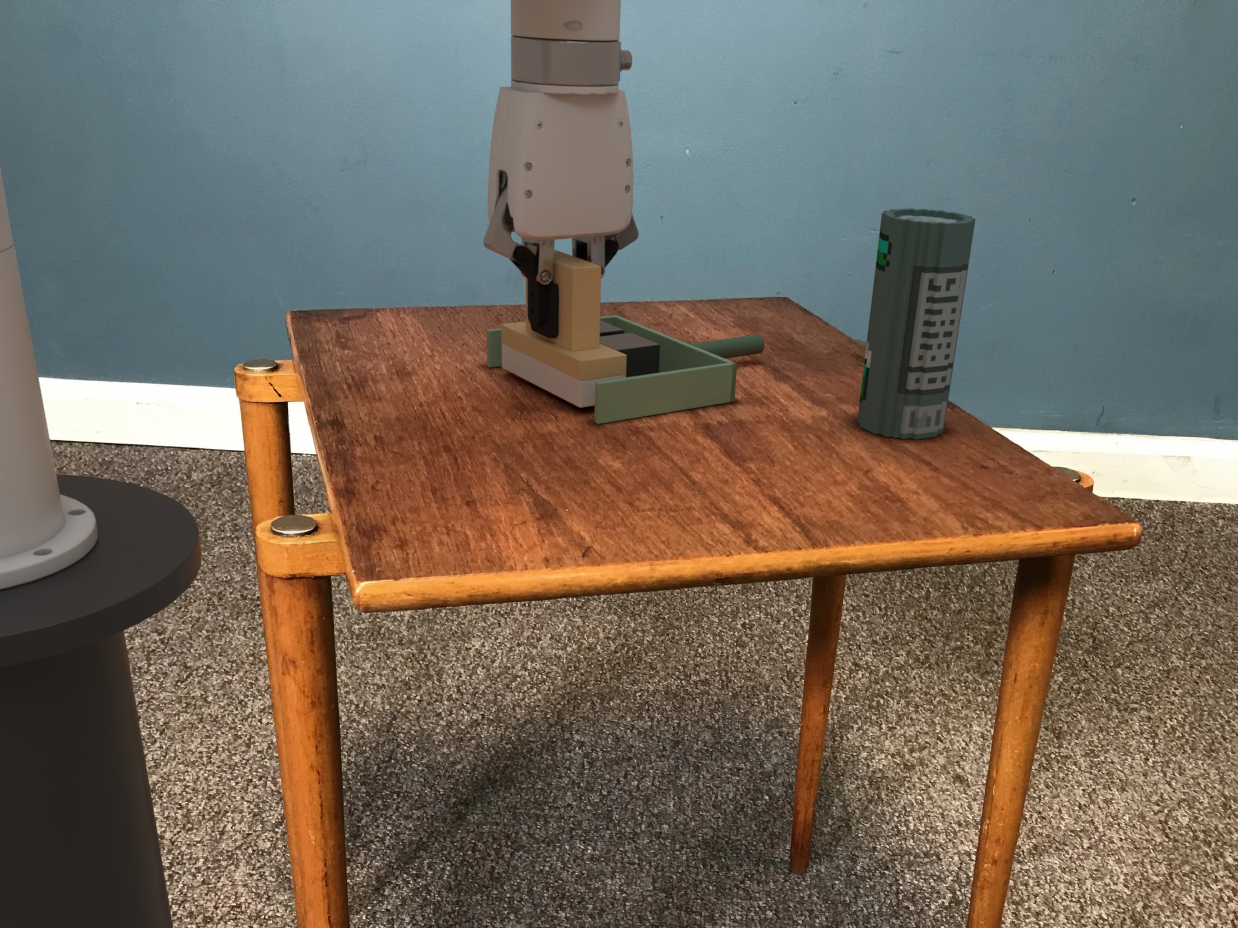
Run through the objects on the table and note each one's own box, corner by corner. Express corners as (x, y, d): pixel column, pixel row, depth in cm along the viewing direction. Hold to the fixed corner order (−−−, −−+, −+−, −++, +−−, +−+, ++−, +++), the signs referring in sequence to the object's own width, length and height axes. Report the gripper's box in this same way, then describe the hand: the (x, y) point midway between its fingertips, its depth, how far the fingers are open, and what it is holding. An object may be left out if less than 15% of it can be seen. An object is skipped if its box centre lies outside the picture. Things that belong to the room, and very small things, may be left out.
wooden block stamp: (579, 408, 96) (582, 276, 91) (501, 367, 104) (500, 245, 100) (625, 400, 98) (629, 271, 93) (544, 362, 106) (545, 242, 102)
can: (907, 410, 101) (934, 207, 94) (958, 433, 96) (991, 221, 89) (843, 418, 98) (866, 210, 91) (892, 442, 93) (921, 225, 86)
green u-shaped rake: (597, 424, 94) (598, 383, 93) (486, 366, 106) (486, 329, 105) (822, 387, 105) (826, 350, 104) (699, 338, 117) (701, 304, 116)
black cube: (614, 402, 99) (616, 350, 97) (587, 388, 102) (588, 337, 100) (658, 395, 101) (660, 344, 99) (629, 382, 104) (631, 332, 102)
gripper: (631, 64, 97) (623, 311, 106) (435, 62, 89) (444, 331, 98) (690, 72, 92) (676, 332, 101) (487, 71, 84) (491, 355, 92)
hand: (562, 330), depth 99 cm, fingers closed on wooden block stamp, 2 cm apart
